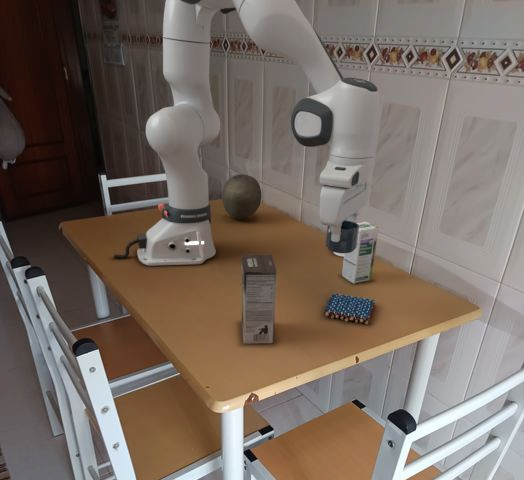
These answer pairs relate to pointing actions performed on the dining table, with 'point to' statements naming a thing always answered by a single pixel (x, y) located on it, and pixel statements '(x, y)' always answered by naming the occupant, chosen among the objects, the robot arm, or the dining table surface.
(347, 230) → the cup
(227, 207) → the cantaloupe
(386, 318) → the dining table surface
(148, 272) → the dining table surface
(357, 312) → the woven mat
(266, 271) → the coffee box
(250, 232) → the dining table surface
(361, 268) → the syrup box
